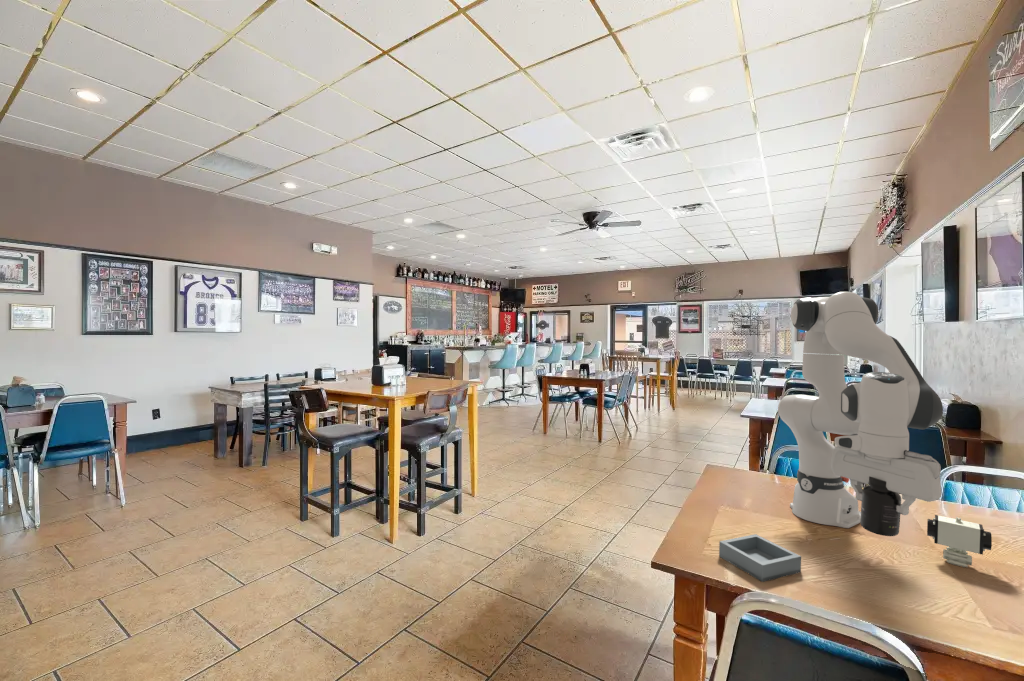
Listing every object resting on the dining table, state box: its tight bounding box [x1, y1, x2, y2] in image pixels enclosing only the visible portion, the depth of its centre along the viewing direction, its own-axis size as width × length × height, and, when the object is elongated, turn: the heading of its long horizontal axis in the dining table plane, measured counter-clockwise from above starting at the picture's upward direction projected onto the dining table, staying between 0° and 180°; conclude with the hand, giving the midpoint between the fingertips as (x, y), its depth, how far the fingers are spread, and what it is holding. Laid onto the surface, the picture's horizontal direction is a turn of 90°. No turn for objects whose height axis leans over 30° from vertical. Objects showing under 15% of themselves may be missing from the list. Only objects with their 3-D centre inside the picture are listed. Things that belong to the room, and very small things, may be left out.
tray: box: [718, 533, 802, 583], centre depth 115 cm, size 13×13×4 cm
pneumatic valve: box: [926, 514, 993, 568], centre depth 117 cm, size 6×12×12 cm, turn 47°
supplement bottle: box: [859, 476, 902, 537], centre depth 101 cm, size 7×7×12 cm
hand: (881, 506), depth 101 cm, fingers closed on supplement bottle, 7 cm apart
